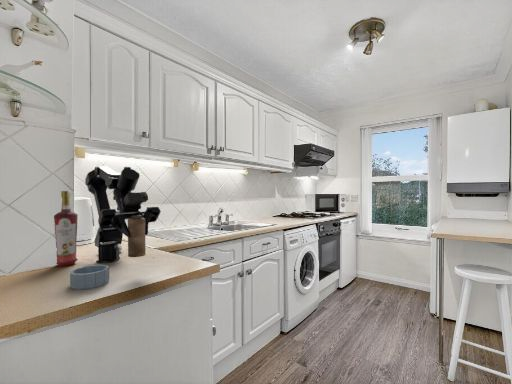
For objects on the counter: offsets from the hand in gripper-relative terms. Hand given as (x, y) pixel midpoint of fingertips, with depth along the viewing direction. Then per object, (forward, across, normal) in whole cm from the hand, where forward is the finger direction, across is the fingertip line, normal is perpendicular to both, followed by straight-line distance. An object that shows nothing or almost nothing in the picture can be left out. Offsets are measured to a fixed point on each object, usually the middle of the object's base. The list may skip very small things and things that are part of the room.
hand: (138, 235), depth 86 cm
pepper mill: (+4, 0, +6) cm, 7 cm away
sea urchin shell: (-20, +5, +40) cm, 44 cm away
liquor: (-15, -13, +34) cm, 40 cm away
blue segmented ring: (+6, -13, +12) cm, 19 cm away
